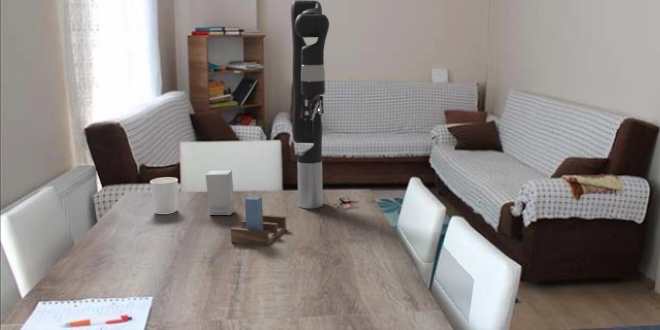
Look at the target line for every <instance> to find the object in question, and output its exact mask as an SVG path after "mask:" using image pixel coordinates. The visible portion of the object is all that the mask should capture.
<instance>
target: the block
mask: <svg viewBox="0 0 660 330" xmlns="http://www.w3.org/2000/svg"><path fill="white" fill-rule="evenodd" d="M244 204H245V205H244V209H245V211H244V212H245V221H246V229H256V230H263V215H264V211H263V196H262V195H261V196H260V195H249V196H248V197H245V199H244Z"/></svg>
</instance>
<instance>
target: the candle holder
mask: <svg viewBox="0 0 660 330" xmlns="http://www.w3.org/2000/svg"><path fill="white" fill-rule="evenodd" d="M178 181H179V179H178V178H177V177H173V176H172V177H171V176H169V177H168V176H165V177H157V178H153V179H151V180H150V181H149V184H150V185H149V186H150V190H151V198H152V204H153V211H155V212H157V213H170V212H175V211H177V210H178V211H179V196H178V195H179V191H178V190H179V187H178V185H179V184H178V183H179V182H178ZM178 211H177V212H178ZM155 212H154V213H155Z"/></svg>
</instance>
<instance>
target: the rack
mask: <svg viewBox="0 0 660 330" xmlns="http://www.w3.org/2000/svg"><path fill="white" fill-rule="evenodd" d="M286 230H287V216H285V215H283V216H282V215H273V214H263V230H256V229H246V219H245V220H243V219H242V220H241V222H240V227H232V228H230V242H236V243H235V244H240V243H243V245H250V244H252V245H251V246H260V245H261V246H262V247H268V246H269V245H270V244H272V242H274V241H275V240H276V239H277V238H278V237H279V236H280V235H281V234H282V233H284V232H285V231H286Z"/></svg>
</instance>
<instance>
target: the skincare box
mask: <svg viewBox="0 0 660 330" xmlns="http://www.w3.org/2000/svg"><path fill="white" fill-rule="evenodd" d="M205 182H206V191H207V192H206V194H207V205H208V214H210V215H231V214H232V213H235V211H236V209H235V194H234V192H235V191H234V182H233V171H232V170H231V169H230V170H210V171H209V172H208V173H206V174H205ZM231 216H232V215H231Z"/></svg>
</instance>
